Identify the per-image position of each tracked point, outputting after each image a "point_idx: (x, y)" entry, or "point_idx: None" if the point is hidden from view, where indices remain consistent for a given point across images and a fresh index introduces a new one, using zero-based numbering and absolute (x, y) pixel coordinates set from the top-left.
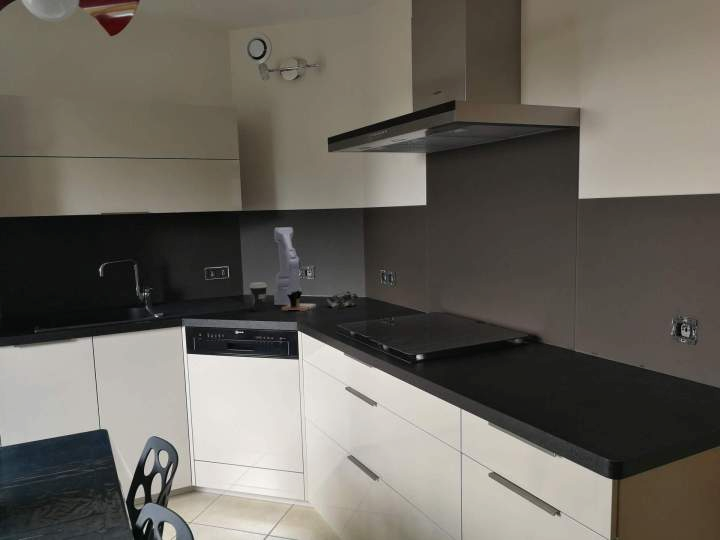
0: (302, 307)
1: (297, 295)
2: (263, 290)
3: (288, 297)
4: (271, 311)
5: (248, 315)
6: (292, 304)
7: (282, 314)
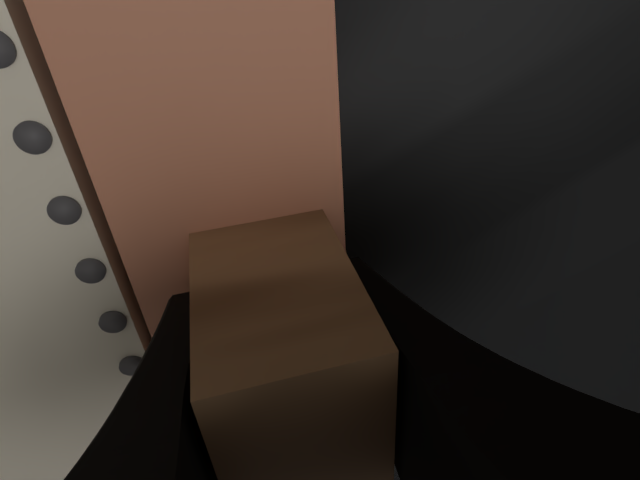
0: (238, 120)
1: (502, 472)
2: None
3: None
4: None
5: None
6: None
7: (627, 219)
